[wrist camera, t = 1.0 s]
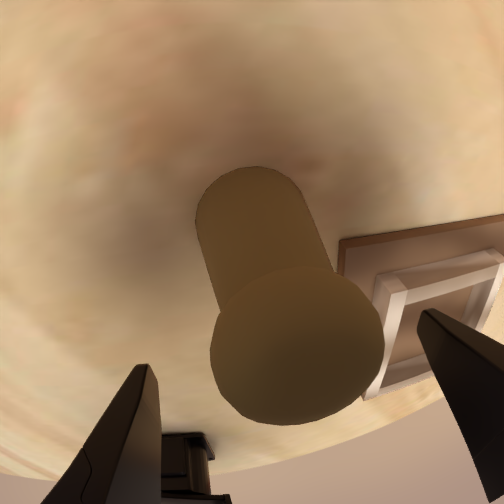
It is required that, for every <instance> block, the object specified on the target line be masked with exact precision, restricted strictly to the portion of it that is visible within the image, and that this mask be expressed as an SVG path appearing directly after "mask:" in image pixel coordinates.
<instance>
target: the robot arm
mask: <svg viewBox="0 0 504 504" xmlns="http://www.w3.org/2000/svg"><path fill="white" fill-rule="evenodd" d="M416 330H417V335H418V337H419V340H420V342H421V344H422V347H423V349H424V352H425V354H426V357H427V360H428V362H429V365H430V367H431V369H432V371H433V373H434V375H435V377H436V379H437V381H438V383H439V385H440V387H441V389H442V392H443V394H444V396H445V397H446V400H447V402H448V404H449V406H450V408H451V410H452V412H453V414H454V417H455V419H456V421H457V423H458V426H459V428H460V430H461V433H462V435H463V437H464V439H465V442H466V444H467V446H468V448H469V451H470V453H471V456H472V459H473V461H474V464H475V467H476V469H477V472H478V474H479V477H480V480H481V482H482V485H483V487H484V490H485V493H486V496H487V498H488V501H489V503H491V502H493V501H494V500H496V499H498V498H499V497H500V496H502V495H504V345H503V344H501V343H499V342H497V341H495V340H493V339H492V338H490V337H488V336H486V335H484V334H482V333H480V332H479V331H477V330H475V329H473V328H471V327H469V326H467V325H465V324H463V323H462V322H460V321H458V320H456V319H454V318H452V317H450V316H448V315H446V314H444V313H442V312H441V311H439V310H437V309H435V308H428V309H425V310H423V311H422V312H421V314H420V317H419V321H418V324H417V328H416ZM214 459H215V455H214V453H213V451H212V449H211V447H210V445H209V443H208V441H207V439H206V437H205V435H204V434H201V433H196V434H185V435H171V436H161V416H160V403H159V389H158V382H157V379H156V377H155V375H154V373H153V371H152V369H151V367H150V365H149V364H138V365H136V366H135V367H134V368H133V370H132V371H131V373H130V374H129V376H128V377H127V379H126V380H125V382H124V383H123V385H122V386H121V388H120V389H119V391H118V392H117V394H116V395H115V397H114V398H113V400H112V401H111V403H110V404H109V406H108V407H107V409H106V411H105V412H104V414H103V415H102V417H101V418H100V420H99V421H98V423H97V424H96V426H95V428H94V429H93V431H92V432H91V434H90V435H89V437H88V439H87V440H86V442H85V443H84V445H83V448H81V449H80V451H79V453H78V454H77V456H76V457H75V459H74V460H73V462H72V463H71V465H70V466H69V468H68V469H67V470H66V472H65V473H64V474H63V476H62V477H61V478H60V480H59V481H58V482H57V484H56V485H55V486H54V487H53V489H52V490H51V491H50V492H49V494H48V495H47V496H46V498H45V499H44V500H43V501H42V502H41V504H232V502H231V498H230V495H229V494H223V495H211V489H210V479H209V469H208V461H210V460H214Z"/></svg>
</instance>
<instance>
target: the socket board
mask: <svg viewBox="0 0 504 504" xmlns="http://www.w3.org/2000/svg"><path fill="white" fill-rule="evenodd" d="M338 274H339V275H341V276H343V277H345V278H347V279H349V280H350V281H351V282H353V283H354V284H356V285H357V286H358V287H359V288H360V289H361V290H362V292H363V293H364V294H365V295H366V297H367V298H368V299H369V300H370V302H371V303H372V305H373V306H374V307H375V309H376V310H377V312H378V313H379V316H380V320H381V323H382V327H383V333H384V339H385V351H384V358H383V362H382V365H381V368H380V371H379V374H378V375H377V377H376V378H375V380H374V381H373V382H372V384H371V385H370V387H369V388H368V389H367V390H366V391H365V392H364V393H363V394H362V395H361V397H362V399H363V401H365V400H368V399H372V398H375V397H378V396H381V395H384V394H387V393H390V392H393V391H396V390H398V389H401V388H404V387H407V386H409V385H412V384H415V383H417V382H420V381H423V380H425V379H428V378H430V377H433V376H435V375H434V373H433V371H432V369H431V367H430V365H429V362H428V360H427V357H426V354H425V352H424V349H423V347H422V344H421V342H420V340H419V337H418V335H417V330H416V328H417V324H418V321H419V317H420V314H421V312H422V311H423V310H425V309H428V308H435V309H437V310H439V311H441V312H442V313H444V314H446V315H448V316H450V317H452V318H454V319H456V320H458V321H460V322H462V323H463V324H465V325H467V326H469V327H471V328H473V329H475V330H477V331H479V332H480V333H481V331H482V329H483V327H484V324H485V322H486V320H487V318H488V315H489V313H490V311H491V308H492V306H493V303H494V301H495V298H496V296H497V293H498V290H499V288H500V285H501V282H502V280H503V277H504V214H503V215H496V216H490V217H484V218H478V219H472V220H466V221H459V222H453V223H447V224H441V225H435V226H428V227H422V228H416V229H410V230H403V231H397V232H391V233H385V234H379V235H372V236H366V237H360V238H353V239H347V240H341V241H339V259H338Z"/></svg>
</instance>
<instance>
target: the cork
mask: <svg viewBox="0 0 504 504" xmlns="http://www.w3.org/2000/svg"><path fill="white" fill-rule="evenodd" d="M195 224H196V229H197V235H198V239H199V243H200V246H201V250H202V253H203V256H204V260H205V263H206V266H207V270H208V273H209V276H210V280H211V283H212V286H213V289H214V292H215V296H216V299H217V302H218V305H219V308H220V311H221V313H220V314H219V316H218V318H217V321H216V325H215V328H214V332H213V337H212V342H211V346H210V361H211V367H212V371H213V374H214V378H215V381H216V384H217V386H218V388H219V391H220V393H221V395H222V396H223V397H224V398H225V399H226V400H227V401H228V402H229V403H230V404H231V405H232V406H233V407H234V408H235V409H236V410H237V411H238V412H239V413H240V414H241V415H242V416H244V417H246V418H248V419H251V420H253V421H255V422H258V423H265V424H272V425H280V426H284V425H300V424H304V423H309V422H313V421H317V420H320V419H322V418H325V417H327V416H330V415H332V414H335V413H337V412H338V411H340V410H342V409H343V408H345V407H347V406H348V405H350V404H351V403H352V402H354V401H355V400H356V399H357V398H358V397H359V396H361V395H362V394H363V393H364V392H365V391H366V390H367V389H368V388H369V387H370V385H371V384H372V382H373V381H374V380H375V378H376V377H377V375H378V374H379V371H380V368H381V365H382V362H383V358H384V351H385V339H384V333H383V327H382V323H381V320H380V316H379V313H378V312H377V310H376V309H375V307H374V306H373V305H372V303H371V302H370V300H369V299H368V298H367V297H366V295H365V294H364V293H363V292H362V290H361V289H360V288H359V287H358V286H357V285H356V284H354V283H353V282H351V281H350V280H349V279H347V278H345V277H343V276H341V275H339V274H337V273H335V272H334V271H333V268H332V266H331V263H330V260H329V258H328V255H327V253H326V250H325V248H324V245H323V243H322V240H321V238H320V236H319V233H318V231H317V228H316V226H315V223H314V221H313V219H312V216H311V214H310V212H309V209H308V207H307V205H306V202H305V200H304V198H303V195H302V193H301V191H300V190H299V189H298V187H297V186H296V185H295V184H294V183H293V182H292V180H291V179H290V178H288V177H286V176H285V175H283V174H281V173H279V172H278V171H276V170H272V169H267V168H262V167H257V166H256V167H248V168H240V169H236V170H234V171H232V172H230V173H227V174H225V175H223V176H221V177H220V178H219V179H217V180H216V181H215V182H214V183H213V184H212V185H211V186H210V187H209V188H208V189H207V190H206V191H205V193H204V195H203V197H202V199H201V200H200V202H199V204H198V208H197V213H196V219H195Z"/></svg>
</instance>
